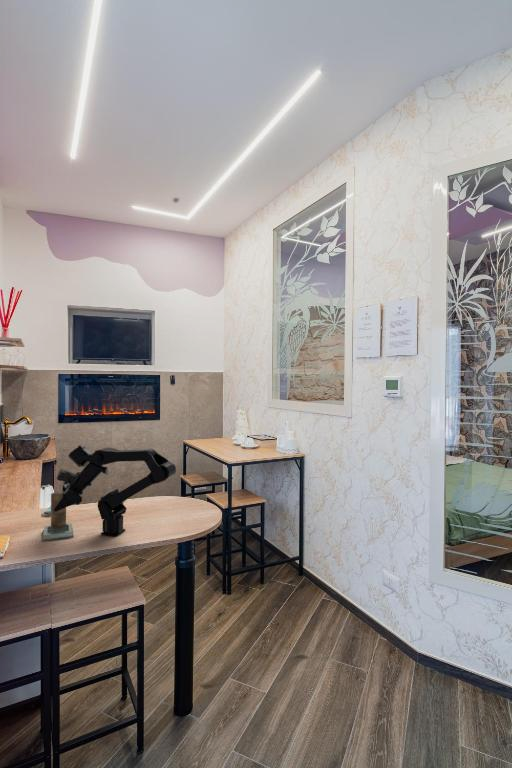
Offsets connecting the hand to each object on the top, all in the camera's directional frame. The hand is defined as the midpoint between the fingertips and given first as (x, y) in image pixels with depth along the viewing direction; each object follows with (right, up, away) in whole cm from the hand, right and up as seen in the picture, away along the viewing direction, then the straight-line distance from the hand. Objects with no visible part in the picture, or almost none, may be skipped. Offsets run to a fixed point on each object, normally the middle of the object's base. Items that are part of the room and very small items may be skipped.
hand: (54, 508), depth 155 cm
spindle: (+1, -7, +1) cm, 7 cm away
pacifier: (-12, -9, +22) cm, 27 cm away
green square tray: (+1, -10, +1) cm, 10 cm away
